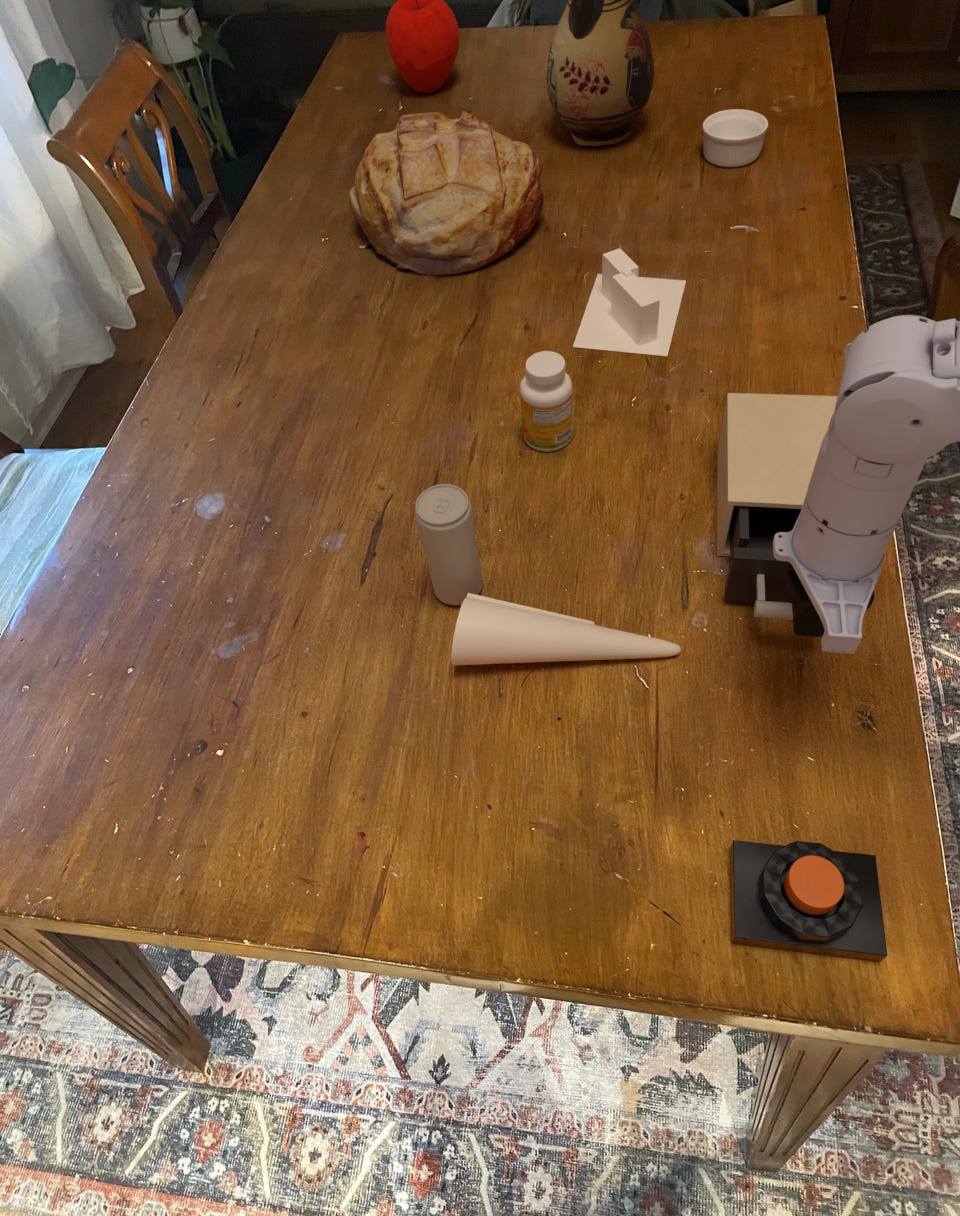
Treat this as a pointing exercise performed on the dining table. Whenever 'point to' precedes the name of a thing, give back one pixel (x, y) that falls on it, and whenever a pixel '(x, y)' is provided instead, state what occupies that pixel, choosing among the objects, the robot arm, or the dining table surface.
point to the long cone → (541, 636)
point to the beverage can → (449, 542)
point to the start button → (814, 885)
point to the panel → (781, 925)
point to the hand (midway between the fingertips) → (807, 624)
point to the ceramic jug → (600, 70)
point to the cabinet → (767, 452)
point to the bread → (445, 193)
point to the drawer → (759, 560)
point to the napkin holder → (629, 309)
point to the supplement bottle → (546, 402)
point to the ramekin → (733, 137)
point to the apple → (422, 42)
